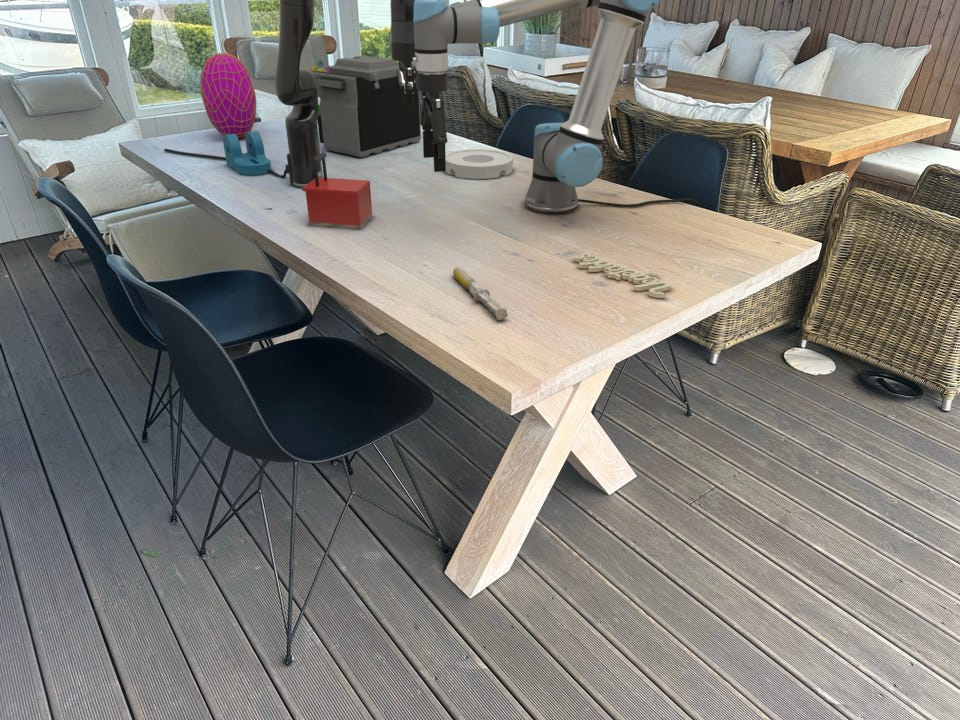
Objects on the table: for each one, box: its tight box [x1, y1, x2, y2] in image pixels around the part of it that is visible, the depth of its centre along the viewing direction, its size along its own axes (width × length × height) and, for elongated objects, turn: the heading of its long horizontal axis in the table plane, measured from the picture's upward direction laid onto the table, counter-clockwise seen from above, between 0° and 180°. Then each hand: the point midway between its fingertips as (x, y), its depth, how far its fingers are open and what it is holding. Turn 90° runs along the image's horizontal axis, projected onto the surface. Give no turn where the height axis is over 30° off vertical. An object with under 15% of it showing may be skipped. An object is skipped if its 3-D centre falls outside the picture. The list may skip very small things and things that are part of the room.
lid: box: [301, 151, 371, 195], centre depth 178 cm, size 15×10×8 cm
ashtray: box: [444, 148, 514, 180], centre depth 230 cm, size 23×23×4 cm
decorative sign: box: [574, 252, 671, 299], centre depth 155 cm, size 26×1×10 cm
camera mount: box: [222, 131, 272, 176], centre depth 226 cm, size 18×10×10 cm, turn 35°
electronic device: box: [310, 55, 422, 159], centre depth 250 cm, size 37×22×30 cm, turn 144°
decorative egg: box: [200, 52, 257, 139], centre depth 259 cm, size 19×19×30 cm
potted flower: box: [310, 59, 332, 115], centre depth 287 cm, size 9×8×25 cm
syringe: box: [452, 266, 509, 321], centre depth 145 cm, size 25×4×3 cm, turn 21°
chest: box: [305, 183, 373, 230], centre depth 183 cm, size 14×10×9 cm
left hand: (407, 105), depth 186 cm, fingers open, 8 cm apart
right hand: (434, 164), depth 170 cm, fingers open, 13 cm apart
